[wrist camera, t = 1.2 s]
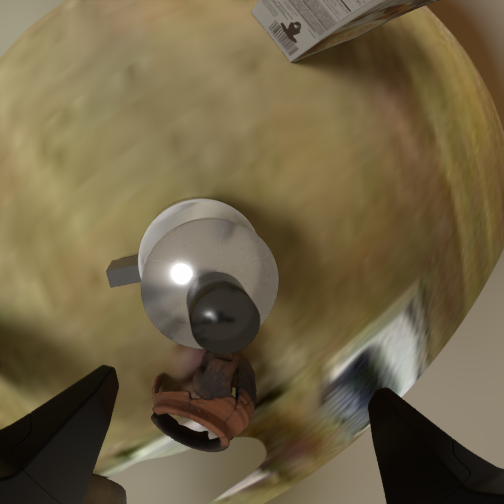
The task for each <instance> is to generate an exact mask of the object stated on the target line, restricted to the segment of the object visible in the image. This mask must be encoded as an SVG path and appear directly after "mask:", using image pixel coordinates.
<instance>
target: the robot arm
mask: <svg viewBox="0 0 504 504" xmlns="http://www.w3.org/2000/svg"><path fill="white" fill-rule="evenodd" d="M118 389H119V383H118V379H117V375H116V371H115V368H114V367H111V366H107V365H102V366H100V367H99V368H97V369H96V370H94V371H93V372H91V373H90V374H88V375H87V376H85V377H84V378H82V379H81V380H79V381H78V382H76V383H75V384H73V385H72V386H70V387H69V388H67V389H65V390H64V391H62V392H61V393H59V394H58V395H56V396H55V397H53V398H52V399H50V400H49V401H47V402H46V403H44V404H43V405H41V406H40V407H38V408H37V409H35V410H34V411H32V412H31V413H29V414H27V415H26V416H24V417H23V418H21V419H19V420H18V421H16V422H14V423H13V424H11V425H9V426H7V427H5V428H3V429H1V430H0V504H83V502H84V498H85V495H86V492H87V489H88V485H89V482H90V479H91V476H92V473H93V470H94V467H95V464H96V461H97V458H98V455H99V453H100V450H101V447H102V444H103V441H104V439H105V436H106V433H107V431H108V428H109V424H110V421H111V417H112V412H113V408H114V404H115V400H116V397H117V393H118ZM368 411H369V418H370V425H371V432H372V439H373V444H374V449H375V453H376V457H377V461H378V466H379V470H380V474H381V479H382V483H383V488H384V492H385V498H386V503H387V504H504V469H501V468H498V467H496V466H494V465H493V464H491V463H489V462H487V461H486V460H484V459H482V458H481V457H479V456H477V455H476V454H474V453H472V452H471V451H470V450H468V449H466V448H465V447H464V446H462V445H461V444H460V443H458V442H457V441H456V440H454V439H452V437H450V436H449V435H448V434H446V433H445V432H444V431H443V430H441V429H440V428H439V427H437V426H436V425H435V424H434V423H432V422H431V421H430V420H429V419H427V418H426V417H425V416H424V415H422V414H421V413H420V412H418V411H417V410H416V409H415V408H413V407H412V406H411V405H410V404H408V403H407V402H406V401H405V400H403V399H402V398H401V397H400V396H398V395H397V394H396V393H395V392H393V391H392V390H391V389H389V388H387V387H385V388H378V389H377V390H376V391H375V393H374V395H373V396H372V398H371V400H370V402H369V404H368Z"/></svg>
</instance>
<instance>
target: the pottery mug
mask: <svg viewBox="0 0 504 504" xmlns="http://www.w3.org/2000/svg"><path fill="white" fill-rule="evenodd" d="M160 386H161V378H160V377H159V376H157V377H156V380H155V381H154V386H153V389H152V393H153V402H154V406H155V407H154V408H153V409H152V410H153V411H154V413H153V415H152V416H151V419H152V421H153V423H154V424H155V425H156V426H157V427H158V428H159V429H160V430H161V431H162V432H163V433H165V434H166V435H167V436H169V437H171V438H172V439H174V440H175V441H177V442H179V443H181V444H183V445H185V446H188V447H191V448H193V449H197V450H202V451H206V452H219V451H223V450H225V449H227V448H228V446H229V443H230V440H232V439H233V438H234V436H236V435H238V434H239V433H241V432H242V431H243V430H244V429H246V428H247V426H248V425H249V422H250V421H251V419H252V414H253V412H254V409H255V403H256V385H255V374H254V370H253V369H252V367H251V365H250V364H249V362H248V361H247V360H246V359H244V358H243V357H242V356H241V355H239V354H238V353H237V352H233V353H228V354H217V353H212V352H209V351H208V352H205V355H204V356H203V358H202V362H201V366H199V367H198V369H197V371H196V373H195V374H194V376H193V389H194V392H195V393H196V394H197V395H198V396H200V397H201V398H199V399H192V398H191V393H190V392H189V391H169V392H159V389H160ZM232 387H236V394H235V395H236V397H235V398H234V396H233V395H231V394H232ZM168 413H169V414H174V415H178V416H181V417H185V418H189V419H191V420H193V421H195V422H197V423H199V424H201V425H202V426H204V427H206V428H208V429H209V430H211V431H212V432H213V433H215V434H216V435H217V436H218V438H215V439H209V437H208V431H203V432H198V431H193V430H191V429H189V428H188V427H186V426H183V425H179V424H178V422H177V421H176V420H175V419H174V418H173V417H171V416H170V415H169V414H168Z"/></svg>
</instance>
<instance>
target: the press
mask: <svg viewBox="0 0 504 504" xmlns="http://www.w3.org/2000/svg"><path fill="white" fill-rule="evenodd" d="M208 217H211V218H223V219H228V220H231V221H235V222H237V223H239V224H242V225H244V226H245V227H247V228H248V229H250V230H251V231H253V232H254V233H256V232H255V230H254V228H253V226H252V225H251V223H250V222H249V221H248V220H247V219H246V217H245V216H244V215H242V214H241V213H240V212H239V211H237V210H236V209H234V208H233V207H231V206H229V205H227V204H225V203H223V202H220V201H217V200H212V199H208V198H202V197H191V198H185V199H181V200H178V201H176V202H173V203H172V204H170V205H168V206H167V207H165V208H164V209H163V210H162V211H160V212H159V213H158V214H157V216H156V217H155V218H154V220H153V221H152V222H151V224H150V225H149V227H148V228H147V230H146V232H145V234H144V236H143V239H142V241H141V245H140V249H139V255H137V256H132V257H127V258H122V259H117V260H113V261H111V263H110V265H109V267H108V268H107V270H106V273H107V277H108V280H109V284H110V287H116V286H121V285H127V284H132V283H137V282H141V279H142V274H143V269H144V265H145V262H146V260H147V257H148V255H149V254H150V252H151V250H152V248H153V247H154V246H155V245H156V243H157V242H158V241H159V240H160V239H161V238H162V237H163V236H164V235H165V234H166V233H168V232H169V231H170V230H172V229H173V228H175V227H177V226H179V225H180V224H183V223H185V222H188V221H191V220H195V219H199V218H208Z"/></svg>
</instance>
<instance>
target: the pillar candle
mask: <svg viewBox="0 0 504 504" xmlns="http://www.w3.org/2000/svg"><path fill="white" fill-rule="evenodd" d="M83 504H126V492H125V490H124V488H123V487H122V486H121V485H119V484H118V483H115V482H114V481H112V480H109V479H106V478H102V477H99V476H96V475H93V474H92V476H91V479H90V482H89V485H88V489H87V492H86V495H85V498H84V502H83Z"/></svg>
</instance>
